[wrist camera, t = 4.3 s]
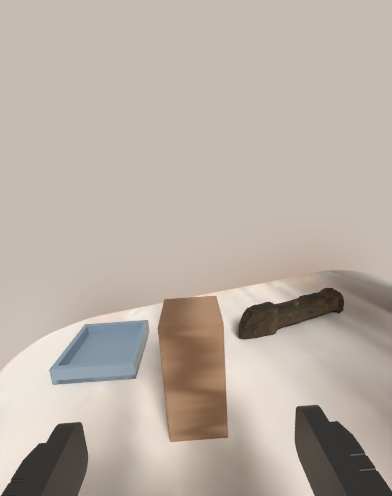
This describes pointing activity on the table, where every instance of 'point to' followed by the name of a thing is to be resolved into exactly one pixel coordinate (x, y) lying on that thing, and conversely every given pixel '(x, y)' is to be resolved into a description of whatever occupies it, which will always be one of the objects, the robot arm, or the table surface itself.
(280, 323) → the brown rough rod
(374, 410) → the table surface
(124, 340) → the tray
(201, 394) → the walnut block
